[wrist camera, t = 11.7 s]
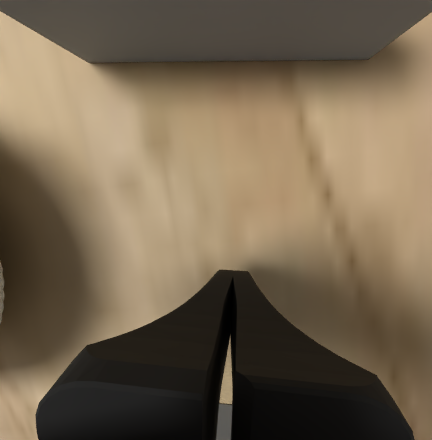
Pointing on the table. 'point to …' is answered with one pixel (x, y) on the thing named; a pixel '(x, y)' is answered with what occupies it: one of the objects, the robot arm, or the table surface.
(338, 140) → the table surface
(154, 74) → the table surface
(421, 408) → the table surface
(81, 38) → the gray parallel panels
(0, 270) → the cereal bowl
